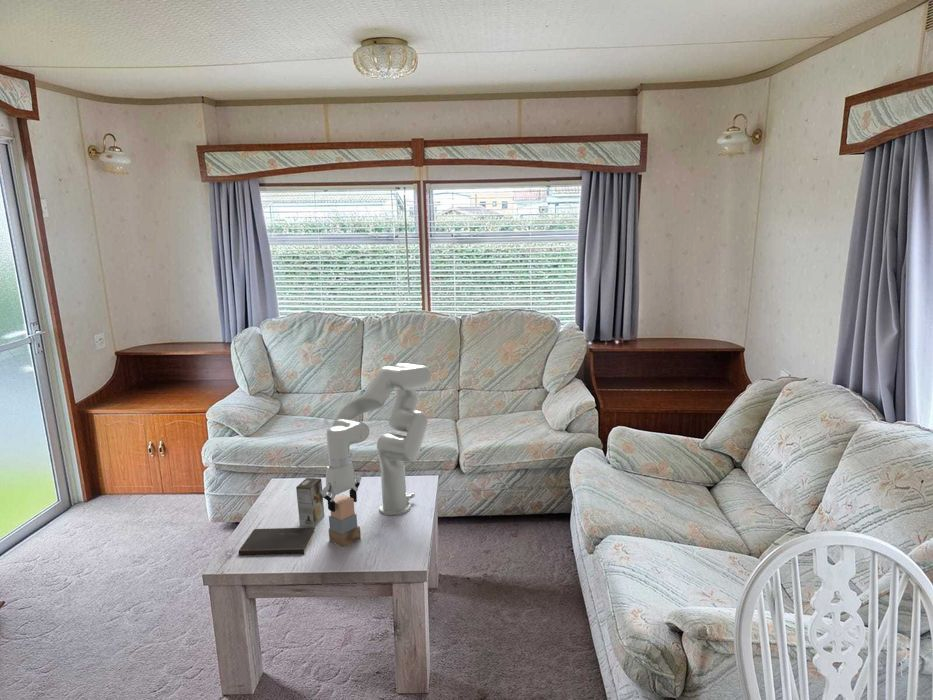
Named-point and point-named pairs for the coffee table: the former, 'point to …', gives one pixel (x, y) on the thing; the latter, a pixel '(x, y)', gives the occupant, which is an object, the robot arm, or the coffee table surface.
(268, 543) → the hardcover book
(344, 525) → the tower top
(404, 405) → the robot arm
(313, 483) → the coffee box
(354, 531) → the tower bottom
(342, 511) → the terracotta cube
